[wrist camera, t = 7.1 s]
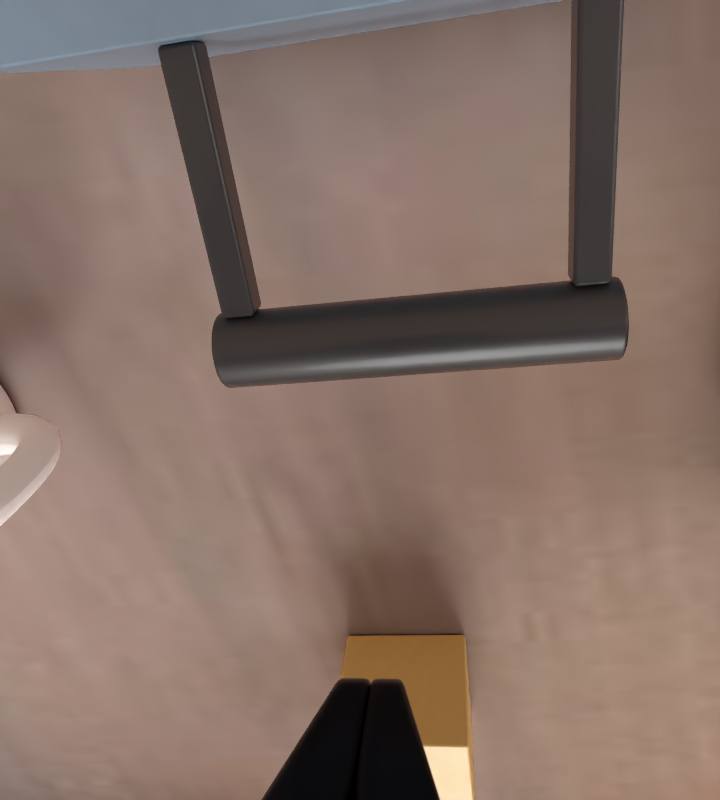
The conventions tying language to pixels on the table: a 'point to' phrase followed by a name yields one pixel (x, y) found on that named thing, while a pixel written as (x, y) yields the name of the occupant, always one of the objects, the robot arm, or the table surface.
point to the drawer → (373, 318)
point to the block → (427, 698)
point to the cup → (23, 455)
